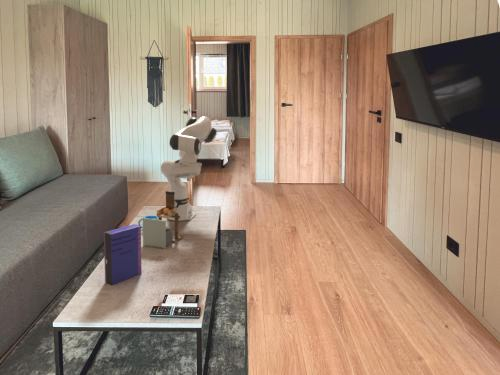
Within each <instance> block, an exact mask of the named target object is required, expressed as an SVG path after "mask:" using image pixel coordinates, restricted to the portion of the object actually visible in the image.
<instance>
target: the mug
mask: <svg viewBox="0 0 500 375" xmlns="http://www.w3.org/2000/svg"><path fill="white" fill-rule="evenodd" d="M143 218H148V219H156V220H158V217H157V215H146V216H144V217H142V218H141V219H139V220H138V222H137V223H138V224H137V225H139V226H141V230H143V225H141V222H142V221H143Z"/></svg>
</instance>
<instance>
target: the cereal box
mask: <svg viewBox="0 0 500 375" xmlns="http://www.w3.org/2000/svg"><path fill="white" fill-rule="evenodd" d="M141 226H142V225H141ZM141 226H139V225H138V224H134V223H133V224H129V225H126V226H122V227H119V228H115V229H111V230H107V231H104V232H103V250H104V251H103V252H104V257H103V258H104V283H106V284H108V285H110V286H113V285H114V286H115V285H117V284H118V283H121V282H125V281H127V280H129V279H132V278H135V277H137V276H141V275H142V272H143V271H142V228H141Z"/></svg>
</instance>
